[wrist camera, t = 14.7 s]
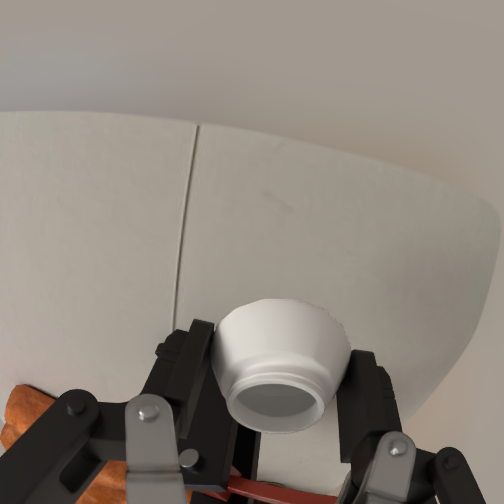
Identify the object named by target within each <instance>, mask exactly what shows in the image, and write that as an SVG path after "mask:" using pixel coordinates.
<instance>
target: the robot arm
mask: <svg viewBox="0 0 504 504" xmlns="http://www.w3.org/2000/svg"><path fill="white" fill-rule="evenodd" d="M213 332H214V323H211V322H207V321H202V320H198V319H194V320H193V322H192V325H191V327H190V329H189V332H187V331H183V330H179V329H177V330H175V331H174V332H173V333H172V334H170V335H169V336H168V337H167V338H166V340H165V342H164V345H163V347H162V350H161V351H160V353H159V355H158V358H157V359H156V362H155V364H154V366H153V368H152V370H151V372H150V375H149V377H148V379H147V381H146V383H145V385H144V388H143V390H142V391H141V393H140V394H139V395H138V396H136V397H134V398H132V399H131V400H130V401H128V402H123V403H108V402H98V401H97V399H96V398H95V397H94V395H92V394H91V393H90V392H88V391H85V390H81V389H73V390H69V391H67V392H65V393H63V394H62V395H61V396H60V397H59V398H58V399H57V400H56V401H55V402H54V403H53V404H52V405H51V406H50V407H49V408H48V409H47V410H46V411H45V412H44V413H43V414H42V415H41V416H40V417H39V418H38V419H37V420H36V421H35V422H34V423H33V424H32V425H31V426H30V427H29V428H28V429H27V430H26V431H25V432H24V433H23V434H22V435H21V436H20V437H19V438H18V439H17V440H16V441H15V443H14V444H13V445H12V446H11V447H10V448H9V449H8V450H7V451H6V452H5V453H4V454H3V455H2V456H1V457H0V504H75V503H76V502H77V501H78V499H79V498H80V497H81V496H82V494H83V493H84V492H85V490H86V489H87V488H88V487H89V485H90V484H91V483H92V482H93V480H94V479H95V478H96V476H97V475H98V474H99V473H100V471H101V470H102V469H103V467H104V466H105V465H106V464H107V462H108V461H109V460H112V461H127V471H126V472H125V489H126V501H127V504H188V503H187V498H186V492H185V487H184V481H183V476H182V472H181V469H180V464H179V458H178V451H177V443H178V439H179V438H183V439H187V435H188V432H189V429H190V425H191V422H192V418H193V415H194V412H195V408H196V405H197V402H198V398H199V395H200V392H201V388H202V385H203V381H204V378H205V375H206V371H207V368H208V364H209V360H210V353H209V350H210V344H211V341H212V338H213ZM392 389H393V387H392V383H391V379H390V376H389V375H388V373H387V372H386V371H385V369H384V368H383V367H381V366H377V364H376V360H375V356H374V353H373V352H370V351H363V350H356V349H354V350H352V352H351V356H350V361H349V367H348V370H347V373H346V375H345V377H344V379H343V381H342V382H341V384H340V386H339V388H338V390H337V392H336V397H337V410H338V424H339V440H340V460H341V463H351V470H350V471H349V472H348V474H347V476H346V478H345V481H344V483H343V486H342V488H341V491H340V493H339V496H338V498H337V500H336V503H335V504H437V501H436V499H435V496H436V495H437V497H438V500H439V502H440V504H486V503H485V500H484V498H483V496H482V493H481V491H480V489H479V487H478V485H477V482H476V480H475V478H474V476H473V474H472V472H471V470H470V468H469V465H468V464H467V461H466V459H465V457H464V456H463V454H462V453H461V452H460V451H459V450H457V449H455V448H453V447H445V448H443V449H441V450H440V451H439V452H438V453H437V454H435V453H431V452H428V451H424V450H421V449H418V448H416V447H415V444H414V442H413V440H412V439H411V438H410V437H409V436H408V435H406V434H404V433H403V432H402V427H401V422H400V418H399V413H398V409H397V404H396V400H395V399H394V398H395V396H394V391H393V390H392Z"/></svg>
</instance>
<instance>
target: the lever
mask: <svg viewBox="0 0 504 504" xmlns="http://www.w3.org/2000/svg"><path fill="white" fill-rule="evenodd" d="M241 475H242V474H241V473H240V472H239V471H238V470H237V469H236V468H235V467H234V466H233V465H232V466H231V472H230V478H229V484H228V490H227V492H211V491H199V492H201V493H204V494H207V495H209V496H212V497H215V498H217V499H220V500H223V501H226V502H227V501H228V499H229V497H230V496H231V494H232V492H233V493H236V494H239V495H243V496H246V497H250V498H253V499H257V500H260V501H264V502H268V503H272V504H335V503H336V500H337V498H338V497H335V496H328V495H321V494H315V493H309V492H303V491H298V490H292V489H287V488H282V487H278V486H273V485H269V484H265V483H261V482H257V481H253V480H249V479H245V478H241Z"/></svg>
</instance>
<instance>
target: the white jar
mask: <svg viewBox="0 0 504 504" xmlns="http://www.w3.org/2000/svg"><path fill="white" fill-rule="evenodd" d="M209 353H210V358H211V363H212V367H213V370H214V373H215V376H216V379H217V382H218V385H219V387H220V390H221V393H222V395H223V396H224V398H225V399H226V404H227V408H228V411H229V413H230V414H231V416H232V417H233V418H234V419H235V420H236V421H237V422H239V423H240V424H242V425H243V426H245V427H247V428H250V429H252V430H255V431H259V432H263V433H270V434H287V433H294V432H298V431H301V430H304V429H307V428H309V427H311V426H312V425H314V424H315V423H317V422H318V421H319V420H320V418H321V417H322V416H323V414H324V410H325V407H326V405H327V404H328V403H329V402H330V401H331V400H332V398H333V397H334V396H335V394H336V392H337V390H338V388H339V386H340V384H341V382H342V381H343V379H344V377H345V375H346V373H347V370H348V367H349V361H350V356H351V347H350V343H349V340H348V338H347V335H346V333H345V330H344V328H343V325H342V324H341V323H339V322H338V321H337V320H336V319H335V318H334V317H332V316H331V315H330V314H329V313H328V312H326V311H325V310H324V309H323V308H320V307H317V306H314V305H311V304H308V303H305V302H302V301H299V300H296V299H262V300H259V301H256V302H253V303H250V304H247V305H244V306H241V307H238V308H235V309H234V310H233V311H232V312H231V313H230V314H229V315H227V316H226V317H225V318H224V319H223V320H222V321H221V322H219V323H218V324H217V327H216V330H215V333H214V335H213V338H212V341H211V344H210V350H209Z"/></svg>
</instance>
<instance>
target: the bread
mask: <svg viewBox="0 0 504 504" xmlns="http://www.w3.org/2000/svg"><path fill="white" fill-rule="evenodd" d="M55 401H56V400H55V399H53V398H51V397H49V396H47V395H45V394H43V393H41V392H39V391H37V390H35V389H33V388H31V387H29V386H27V385H16V387H15V388H14V389H13V391H12V392H11V394H10V397H9V399H8V402H7V405H6V410H5V420H6V423H5V425H4V427H3V429H2V433H1V435H0V440H1V442H2V444H3V446H4V448H5V450H6V451H7V450H8V449H9V448H10V447H11V446H12V445H13V444H14V443H15V441H16V440H17V439H18V438H19V437H20V436H21V435H22V434H23V433H24V432H25V431H26V430H27V429H28V428H29V427H30V426H31V425H32V424H33V423H34V422H35V421H36V420H37V419H38V418H39V417H40V416H41V415H42V414H43V413H44V412H45V411H46V410H47V409H48V408H49V407H50V406H51V405H52V404H53V403H54V402H55ZM126 471H127V461H112V460H109V461H108V462H107V464H106V465H105V466H104V467H103V469H102V470H101V471H100V473H99V474H98V475H97V476H96V478H95V479H94V480H93V482H92V483H91V484H90V485H89V487H88V488H87V489H86V490H85V492H84V493H83V494H82V496H81V497H80V498H79V499H78V501H77V502H76V503H75V504H127V501H126V489H125V472H126ZM185 492H186V498H187V503H188V504H190V500H191V496H192V491H188V490H185Z"/></svg>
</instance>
